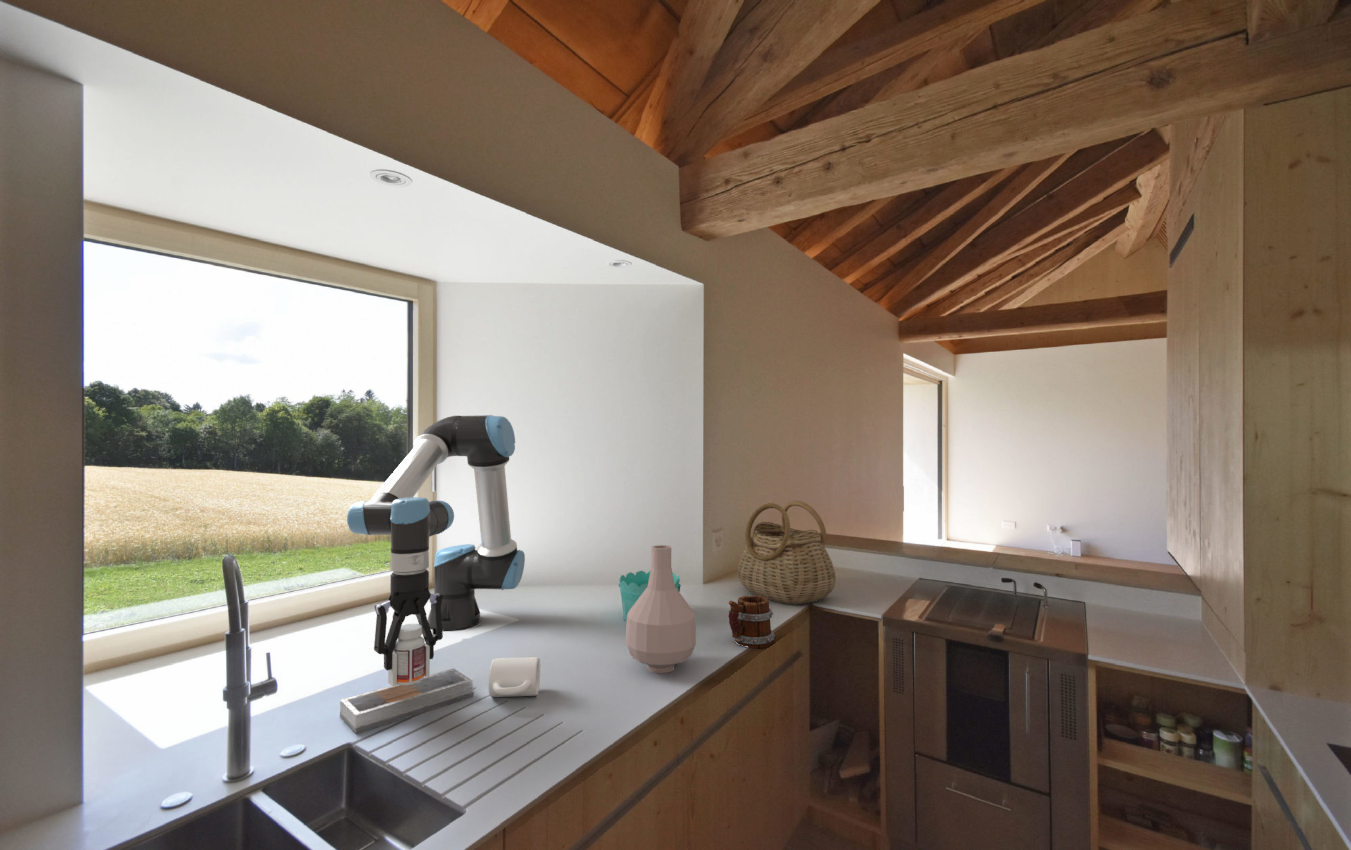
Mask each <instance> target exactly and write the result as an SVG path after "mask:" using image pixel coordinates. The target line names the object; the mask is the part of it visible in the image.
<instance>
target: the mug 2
mask: <svg viewBox="0 0 1351 850" xmlns="http://www.w3.org/2000/svg"><path fill="white" fill-rule="evenodd" d="M728 604H729V606H730V610H729V611H728V623H729V626H730V630H731V632H732V633H731V635H732V636H731V637H732V638H733V639H734V640H735V641H736V642H737V643H738V644H741V645H743V646H748V647H749V648H748V649H758V648H759V649H763V648H767V647H770V646H771V645H772V644H773V641H774V640H775V637H776V635H775V632H774V631H773V630H772V626H771V619H772V618H773V615H774V612H773V611H772V609H771V608H770V600H769V599H767V598H765V597H761V596H758V595H743V596H740V597H738V599H737V602H736V601H734V600H729V601H728ZM735 641H734V642H735ZM736 642H735V643H736ZM738 644H737V645H738ZM741 645H740V646H741ZM743 646H742V647H743Z"/></svg>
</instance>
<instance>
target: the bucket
mask: <svg viewBox="0 0 1351 850" xmlns="http://www.w3.org/2000/svg"><path fill="white" fill-rule="evenodd" d="M650 572H651V570H649V571H648V572H646V571H644V570H639V571H635V573H633V572H628V573H627V574H626V575H624V574H622V575H620V577H619V578H618V580H619V583H618V587H619V589H620V596H621V605H622V606H621V607H622V614H623V616H622V617H623V620H624V621H625V622H627V614H628V612H629V611H630V609H631V608H632V607H633V605H634V604H635V603H636V601H637V600H638V599H639V597H640V596H641V595H642V593H643V592H644V591H645V589H646V588H647V587H648V582H649V577H650ZM672 573H673V578H674V583H675V587H676V588H677V590H678V591H679V593H681V592H680V591H681V586H682V585H681V583H680V580H681V576H680V575H677V574H676V573H674V572H672Z"/></svg>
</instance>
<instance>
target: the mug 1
mask: <svg viewBox="0 0 1351 850" xmlns="http://www.w3.org/2000/svg"><path fill="white" fill-rule="evenodd" d="M540 661H541V660H540V657H538V656H532V657H531V656H530V657H500V658H497V657H496V658H493V659H492V661H491V664H490V668H489V674H488V693H489V696H490V697H491V698H505V697H506V698H507V697H533V696H538V693H539V689H540V681H541V662H540Z"/></svg>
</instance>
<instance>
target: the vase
mask: <svg viewBox="0 0 1351 850" xmlns="http://www.w3.org/2000/svg"><path fill="white" fill-rule="evenodd" d="M650 560H651V561H650V562H651V568H650V571H651V572H650V577H649V582H648V587H647V588H646V589H645V591H644V592H643V593H642V595H641V596H640V597H639V599H638V600H637V601H636V603H635V604H634V605H633V607H632V608H631V609H630V611H629V612H628V614H627V621H626V626H625V627H626V628H625V629H626V632H625V644H626V646H627V649H628V652H629V654H630V656H631V657H632V659H633V660H636V662H637V661H638V662H639V663H642V664H644V665H647V669H648V671H649V672H651V673H655V674H667V673H670V672H669V671H671V672H672V671H674V670H673V669H675V666H676V665H677V664H680V663H682V662H684V661H687V660H688V659H690V657H691V656H692V655H693V652H694V649H695V647H696V645H697V633H696V631H697V627H696V625H697V624H696V613H695V611H694V610H693V608H691V606H690V604H689V603H688V602H687V601H686V599H685V598H684V596H683V595H682V594H681V592H679V591H678V590H677V588H676V587H675V583H674V578H673V573H674V572H673V569H672V546H671V545H667V544H666V545H665V544H658V545H657V544H656V545H652V546H651V558H650Z"/></svg>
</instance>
